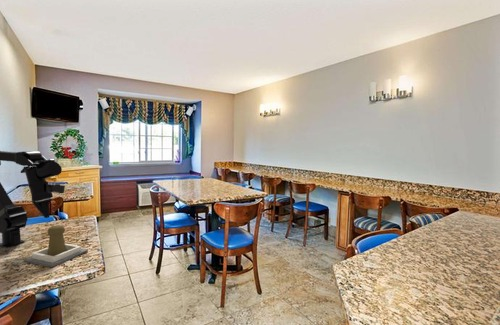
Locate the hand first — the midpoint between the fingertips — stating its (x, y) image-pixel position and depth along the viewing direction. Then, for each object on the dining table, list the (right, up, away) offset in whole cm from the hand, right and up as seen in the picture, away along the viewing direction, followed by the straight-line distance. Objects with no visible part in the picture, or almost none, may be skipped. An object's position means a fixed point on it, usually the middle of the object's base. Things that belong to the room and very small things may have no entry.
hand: (47, 217), depth 106 cm
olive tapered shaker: (+9, -13, -7) cm, 17 cm away
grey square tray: (+10, -13, -7) cm, 18 cm away
